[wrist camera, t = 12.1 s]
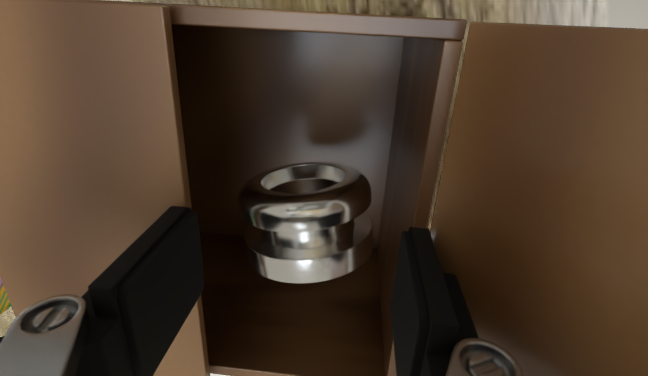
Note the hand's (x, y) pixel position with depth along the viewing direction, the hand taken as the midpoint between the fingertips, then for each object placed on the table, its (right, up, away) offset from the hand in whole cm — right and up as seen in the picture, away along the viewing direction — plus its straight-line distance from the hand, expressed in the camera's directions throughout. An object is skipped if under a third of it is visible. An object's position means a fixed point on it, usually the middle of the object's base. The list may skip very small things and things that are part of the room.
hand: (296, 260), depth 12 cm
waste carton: (-2, +5, +11) cm, 12 cm away
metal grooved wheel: (+1, +2, +5) cm, 6 cm away
